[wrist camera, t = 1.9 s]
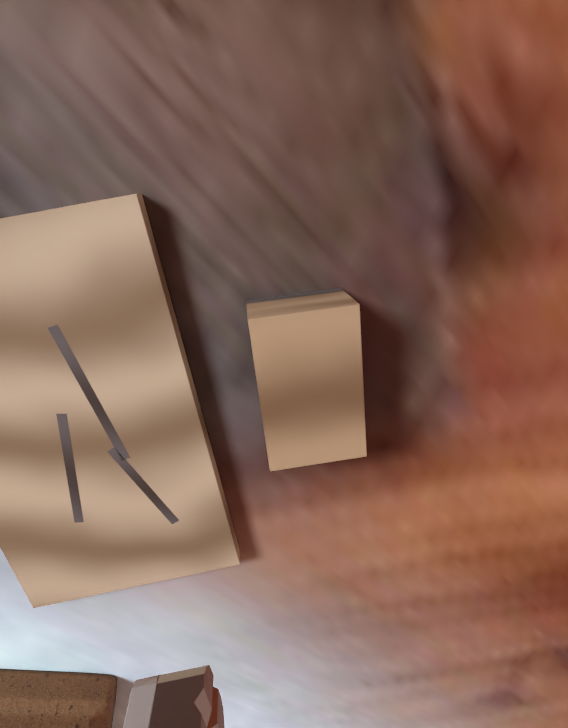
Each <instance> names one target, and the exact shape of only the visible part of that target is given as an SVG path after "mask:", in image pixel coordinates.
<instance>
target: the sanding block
mask: <svg viewBox="0 0 568 728" xmlns="http://www.w3.org/2000/svg"><path fill="white" fill-rule="evenodd" d="M246 303H247V316H248V324H249V331H250V338H251V345H252V352H253V358H254V365H255V372H256V379H257V385H258V392H259V399H260V406H261V413H262V419H263V426H264V433H265V440H266V447H267V453H268V460H269V467H270V471H275V470H281V469H288V468H294V467H301V466H307V465H314V464H320V463H327V462H333V461H340V460H346V459H353V458H359V457H366V456H367V452H366V431H365V410H364V388H363V367H362V346H361V324H360V304H359V303H357V302H356V301H355V300H354V299H353V298H352V297H351V296H349V295H348V294H347V293H346V292H345V291H344V290H342V289H341V288H336V289H329V290H321V291H313V292H306V293H298V294H291V295H283V296H276V297H268V298H261V299H253V300H246Z"/></svg>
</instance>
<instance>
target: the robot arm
mask: <svg viewBox="0 0 568 728" xmlns="http://www.w3.org/2000/svg"><path fill="white" fill-rule="evenodd" d="M123 728H224V715H223V706H222V701H221V696H220V693H219V690H218V689H217V688H215V687H213V673H212V671H211V668H210V666H209V665H208V666H203V667H198V668H193V669H188V670H183V671H178V672H173V673H169V674H164V675H158V676H153V677H149V678H144V679H140V680H136V681H135V683H134V686H133V688H132V690H131V693H130V698H129V702H128V707H127V711H126V716H125V720H124V724H123Z"/></svg>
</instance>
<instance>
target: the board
mask: <svg viewBox="0 0 568 728" xmlns="http://www.w3.org/2000/svg"><path fill="white" fill-rule="evenodd" d="M0 547H1V549H2V551H3V553H4V555H5V557H6V558H7V560H8V562H9V564H10V566H11V568H12V569H13V571H14V573H15V575H16V577H17V578H18V580H19V582H20V584H21V586H22V588H23V589H24V591H25V593H26V595H27V597H28V599H29V600H30V602H31V604H32V606H33V608H36V607H41V606H45V605H50V604H55V603H60V602H64V601H69V600H74V599H78V598H83V597H88V596H93V595H97V594H102V593H107V592H111V591H116V590H121V589H126V588H130V587H135V586H140V585H144V584H149V583H154V582H159V581H163V580H168V579H173V578H178V577H182V576H187V575H192V574H196V573H201V572H206V571H211V570H215V569H220V568H225V567H229V566H234V565H239V564H240V549H239V545H238V542H237V538H236V534H235V531H234V527H233V524H232V520H231V516H230V513H229V509H228V505H227V502H226V498H225V494H224V491H223V487H222V484H221V480H220V476H219V473H218V469H217V465H216V462H215V458H214V454H213V451H212V447H211V444H210V440H209V436H208V433H207V429H206V425H205V422H204V418H203V414H202V411H201V407H200V404H199V400H198V396H197V393H196V389H195V385H194V382H193V378H192V375H191V371H190V367H189V364H188V360H187V356H186V353H185V349H184V345H183V342H182V338H181V335H180V331H179V327H178V324H177V320H176V316H175V313H174V309H173V305H172V302H171V298H170V295H169V291H168V287H167V284H166V280H165V276H164V273H163V269H162V265H161V262H160V258H159V255H158V251H157V247H156V244H155V240H154V236H153V233H152V229H151V225H150V222H149V218H148V215H147V211H146V207H145V204H144V200H143V196H142V194H132V195H127V196H121V197H116V198H110V199H105V200H99V201H94V202H89V203H83V204H78V205H72V206H67V207H61V208H56V209H50V210H45V211H39V212H34V213H29V214H23V215H18V216H12V217H7V218H1V219H0Z"/></svg>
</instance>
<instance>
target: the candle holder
mask: <svg viewBox="0 0 568 728" xmlns="http://www.w3.org/2000/svg"><path fill="white" fill-rule="evenodd" d="M116 687H117V679H116V677H115V676H112V675H104V674H93V673H73V672H51V671H29V670H7V669H0V728H111V727H112V720H113V712H114V705H115V697H116Z"/></svg>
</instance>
